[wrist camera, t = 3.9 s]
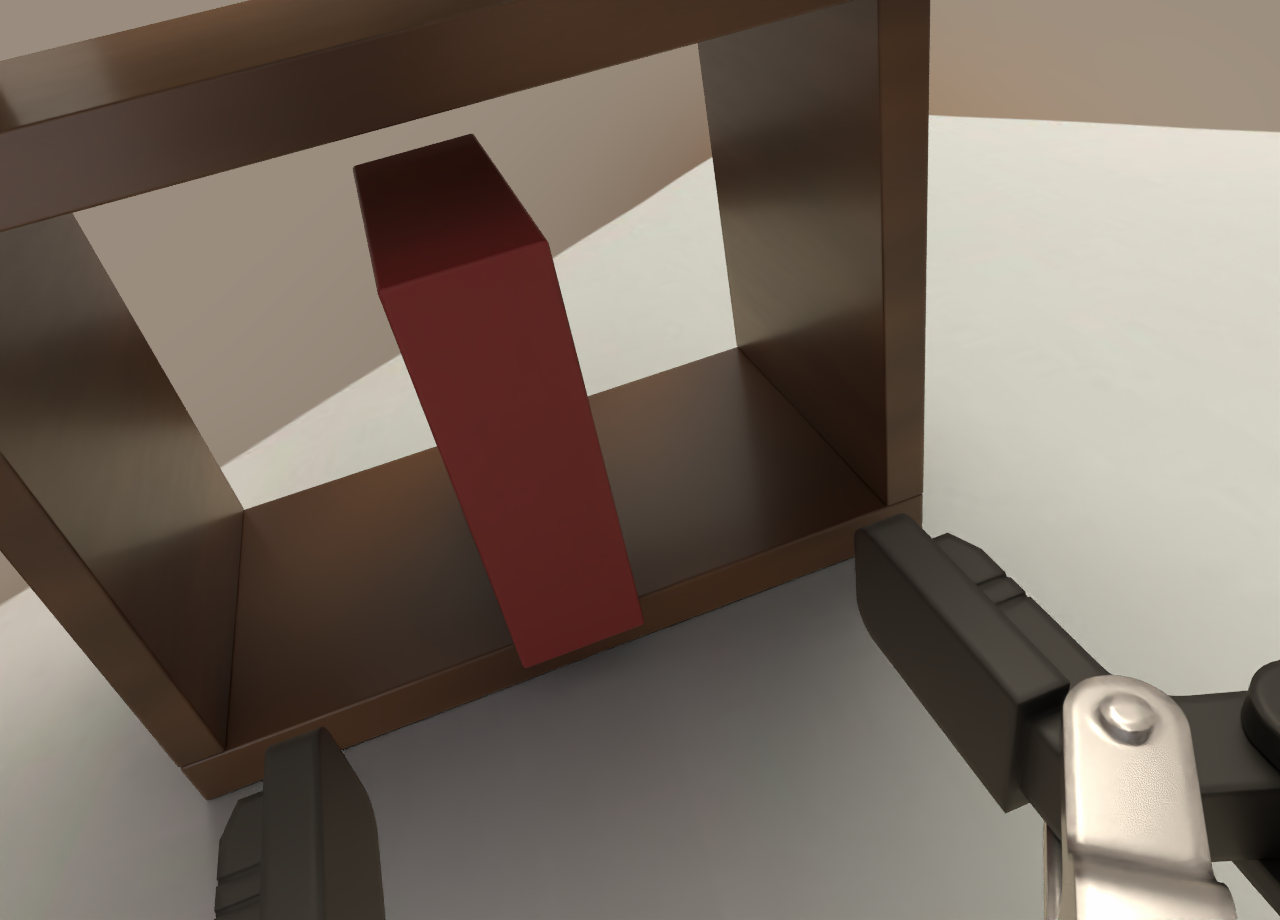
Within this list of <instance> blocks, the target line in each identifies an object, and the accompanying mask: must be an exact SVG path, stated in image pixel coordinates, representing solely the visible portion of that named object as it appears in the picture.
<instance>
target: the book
mask: <svg viewBox="0 0 1280 920" xmlns="http://www.w3.org/2000/svg"><path fill="white" fill-rule="evenodd" d="M353 173H354V178H355V183H356V187H357V193H358V198H359V203H360V208H361V212H362V218H363V222H364V227H365V232H366V237H367V242H368V247H369V252H370V257H371V262H372V267H373V272H374V277H375V282H376V287H377V292H378V295H379V298H380V300H381V303H382V305H383V308H384V311H385V313H386V316H387V318H388V321H389V323H390V326H391V329H392V331H393V334H394V336H395V339H396V341H397V344H398V346H399V349H400V352H401V354H402V357H403V359H404V362H405V365H406V367H407V370H408V372H409V375H410V377H411V380H412V383H413V385H414V388H415V390H416V393H417V395H418V398H419V401H420V403H421V406H422V408H423V411H424V413H425V416H426V419H427V421H428V424H429V426H430V429H431V431H432V434H433V437H434V439H435V442H436V444H437V447H438V449H439V452H440V455H441V457H442V460H443V462H444V465H445V467H446V470H447V473H448V475H449V478H450V480H451V483H452V485H453V488H454V491H455V493H456V496H457V498H458V501H459V503H460V506H461V508H462V511H463V514H464V516H465V519H466V521H467V524H468V526H469V529H470V532H471V534H472V537H473V539H474V542H475V544H476V547H477V550H478V552H479V555H480V557H481V560H482V562H483V565H484V568H485V570H486V573H487V575H488V578H489V580H490V583H491V586H492V588H493V591H494V593H495V596H496V598H497V601H498V604H499V606H500V609H501V611H502V614H503V616H504V619H505V622H506V624H507V627H508V629H509V632H510V634H511V637H512V640H513V642H514V645H515V647H516V650H517V652H518V655H519V658H520V660H521V663H522V665H523V666H524V667H525V668H529V667H531V666H534V665H537V664H539V663H542V662H545V661H547V660H550V659H553V658H555V657H558V656H561V655H563V654H566V653H569V652H571V651H574V650H577V649H579V648H582V647H585V646H587V645H590V644H593V643H595V642H598V641H601V640H603V639H606V638H609V637H611V636H614V635H617V634H619V633H622V632H625V631H627V630H630V629H633V628H635V627H638V626H641V625H643V624H644V617H643V613H642V609H641V605H640V601H639V597H638V593H637V589H636V586H635V582H634V578H633V574H632V570H631V566H630V562H629V558H628V554H627V550H626V546H625V542H624V538H623V534H622V530H621V527H620V523H619V519H618V515H617V511H616V507H615V503H614V499H613V495H612V491H611V487H610V483H609V479H608V475H607V471H606V467H605V464H604V460H603V456H602V452H601V448H600V444H599V440H598V436H597V432H596V428H595V424H594V420H593V416H592V412H591V408H590V404H589V401H588V397H587V393H586V389H585V385H584V381H583V377H582V373H581V369H580V365H579V361H578V357H577V353H576V349H575V345H574V342H573V338H572V334H571V330H570V326H569V322H568V318H567V314H566V310H565V306H564V302H563V298H562V294H561V290H560V286H559V282H558V279H557V275H556V271H555V267H554V263H553V259H552V255H551V251H550V247H549V243H548V242H547V240H546V238H545V237H544V236H543V234H542V233H541V231H540V230H539V228H538V227H537V225H536V224H535V222H534V221H533V220H532V218H531V217H530V215H529V214H528V212H527V211H526V209H525V208H524V207H523V205H522V204H521V202H520V201H519V199H518V198H517V196H516V195H515V194H514V192H513V191H512V189H511V188H510V186H509V185H508V184H507V182H506V181H505V179H504V178H503V176H502V175H501V173H500V172H499V170H498V169H497V168H496V166H495V165H494V163H493V162H492V160H491V159H490V157H489V156H488V155H487V153H486V152H485V150H484V149H483V147H482V146H481V144H480V143H479V142H478V140H477V139H476V137H475V136H474V135H473V134H468V135H465V136H461V137H457V138H454V139H450V140H447V141H443V142H440V143H436V144H432V145H429V146H425V147H421V148H418V149H414V150H411V151H407V152H403V153H400V154H396V155H392V156H389V157H385V158H382V159H378V160H374V161H371V162H367V163H364V164H360V165H356V166H354V168H353Z"/></svg>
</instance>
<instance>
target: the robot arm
mask: <svg viewBox="0 0 1280 920" xmlns="http://www.w3.org/2000/svg"><path fill="white" fill-rule="evenodd" d="M854 553H855V574H856V596H857V604H858V608H859V612H860V615H861V618H862V620H863V622H864V625H865V627H866V629H867V631H868V632H869V634H870V636H871V637H872V639H873V640H874V641H875V643H876V644H877V645H878V647H879V648H880V649H881V651H882V652H883V653H884V655H885V656H886V657H887V658H888V660H889V661H890V662H891V664H892V665H893V666H894V668H895V669H896V670H897V672H898V673H899V674H900V676H901V677H902V678H903V680H904V681H905V682H906V683H907V685H908V686H909V687H910V689H911V690H912V691H913V693H914V694H915V695H916V697H917V698H918V699H919V701H920V702H921V703H922V705H923V706H924V707H925V708H926V710H927V711H928V712H929V714H930V715H931V716H932V718H933V719H934V720H935V722H936V723H937V724H938V726H939V727H940V728H941V729H942V731H943V732H944V733H945V735H946V736H947V737H948V739H949V740H950V741H951V743H952V744H953V745H954V747H955V748H956V749H957V751H958V752H959V753H960V754H961V756H962V757H963V758H964V760H965V761H966V762H967V764H968V765H969V766H970V768H971V769H972V770H973V772H974V773H975V774H976V776H977V777H978V778H979V779H980V781H981V782H982V783H983V785H984V786H985V787H986V789H987V790H988V791H989V793H990V794H991V795H992V797H993V798H994V799H995V801H996V802H997V803H998V804H999V806H1000V807H1001V808H1002V810H1003V811H1004V812H1005V813H1007V812H1010V811H1012V810H1014V809H1016V808H1019V807H1021V806H1023V805H1026V804H1028V803H1031V804H1032V806H1033V807H1034V808H1035V809H1036V811H1037V812H1038V813H1039V814H1040V816H1041V817H1042V818H1043V819H1044V827H1043V864H1044V920H1237V915H1236V910H1235V905H1234V902H1233V898H1232V895H1231V893H1230V891H1229V889H1228V887H1227V886H1226V885H1225V884H1224V883H1220V882H1217V881H1216V879H1215V876H1214V873H1213V869H1212V864H1211V862H1220V861H1232V862H1233V863H1234V864H1235V865H1236V866H1237V868H1238V869H1239V870H1240V871H1241V872H1242V873H1243V874H1244V876H1245V877H1246V878H1247V879H1248V880H1249V881H1250V883H1251V884H1252V885H1253V886H1254V887H1255V888H1256V889H1257V891H1258V892H1259V893H1260V894H1261V895H1262V896H1263V897H1264V899H1265V900H1266V901H1267V902H1268V903H1269V904H1270V905H1271V907H1272V908H1273V909H1274V910H1275V911H1276V912H1277V913H1278V915H1279V916H1280V660H1278V661H1274V662H1271V663H1269V664H1267V665H1265V666H1263V667H1262V668H1260V669H1259V670H1258V671H1257V672H1256V673H1255V674H1254V676H1253V678H1252V680H1251V683H1250V686H1249V689H1248V691H1239V692H1227V693H1215V694H1204V695H1192V696H1169V695H1166V694H1165V693H1164V692H1162V691H1161V690H1159V689H1157V688H1156V687H1154V686H1152V685H1150V684H1148V683H1145V682H1143V681H1140V680H1137V679H1134V678H1130V677H1125V676H1116V675H1112V674H1110V673H1109V672H1108V671H1106V670H1105V669H1104V668H1103V667H1102V666H1101V665H1100V664H1099V663H1098V662H1097V661H1096V660H1095V659H1093V658H1092V657H1091V656H1090V655H1089V654H1088V653H1087V652H1086V651H1085V650H1084V649H1083V648H1082V647H1081V646H1080V645H1079V644H1078V643H1077V642H1076V641H1075V640H1074V639H1073V638H1072V637H1071V636H1070V635H1069V634H1068V633H1067V632H1066V631H1065V630H1064V629H1063V628H1062V627H1061V626H1060V625H1059V624H1058V623H1057V622H1056V621H1055V620H1054V619H1053V618H1052V617H1051V616H1049V615H1048V614H1047V613H1046V612H1045V611H1044V610H1043V609H1042V608H1041V607H1040V606H1039V605H1038V604H1037V603H1036V602H1035V601H1034V600H1033V599H1032V598H1031V597H1027V596H1026V594H1025V591H1024V590H1023V589H1022V588H1021V587H1020V586H1019V585H1018V584H1017V583H1016V582H1015V581H1014V580H1013V579H1012V578H1011V577H1010V578H1008V577H1007V576H1006V573H1005V572H1004V571H1003V570H1002V569H1001V568H1000V567H999V566H998V565H997V564H996V563H995V562H994V561H993V560H992V559H991V558H990V557H989V556H988V555H987V554H986V553H985V552H984V551H983V550H982V549H980V548H978V547H976V546H974V545H972V544H970V543H968V542H966V541H964V540H962V539H960V538H958V537H956V536H954V535H951V534H949V533H946V534H943V535H941V536H938V537H936V538H933V539H932V538H931V537H930V536H929V535H928V534H927V533H926V532H925V531H924V530H923V529H922V528H921V527H920V526H919V525H918V524H917V523H916V522H915V521H914V520H913V519H912V518H911V517H910V516H909V515H907V514H905V513H899V514H897V515H894V516H891V517H888V518H886V519H883V520H880V521H878V522H875V523H872V524H870V525H867V526H864V527H862V528H859V529H857V530H856V531H855V534H854ZM217 880H218V886H217V887H216V897H215V910H214V911H215V913H216V919H214V920H386V919H385V908H384V897H383V885H382V874H381V863H380V852H379V841H378V831H377V824H376V819H375V815H374V811H373V808H372V805H371V802H370V799H369V797H368V794H367V792H366V790H365V788H364V786H363V785H362V783H361V781H360V780H359V778H358V777H357V775H356V773H355V772H354V770H353V769H352V767H351V765H350V764H349V762H348V761H347V759H346V757H345V756H344V754H343V753H342V751H341V749H340V748H339V746H338V745H337V743H336V741H335V740H334V738H333V737H332V735H331V733H330V732H329V731H328V730H327V728H325V727H323V726H322V727H319V728H317V729H314V730H311V731H309V732H306V733H303V734H300V735H298V736H295V737H292V738H290V739H287V740H284V741H282V742H279V743H276V744H274V745H271V746H269V747H268V748H267V749H266V752H265V758H264V786H263V791H261V792H258V793H256V794H253V795H250V796H248V797H245V798H243V799H240V800H238V801H237V804H236V806H235V808H234V810H233V812H232V815H231V817H230V819H229V821H228V823H227V825H226V828H225V830H224V832H223V834H222V836H221V839H220V843H219V857H218V870H217Z"/></svg>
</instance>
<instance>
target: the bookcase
mask: <svg viewBox="0 0 1280 920" xmlns="http://www.w3.org/2000/svg"><path fill="white" fill-rule="evenodd" d="M695 43H698V49H699V57H700V64H701V72H702V80H703V87H704V95H705V103H706V110H707V118H708V126H709V134H710V141H711V149H712V157H713V164H714V172H715V180H716V188H717V195H718V203H719V211H720V218H721V226H722V234H723V242H724V249H725V257H726V265H727V272H728V280H729V288H730V296H731V303H732V311H733V319H734V326H735V334H736V342H737V346H738V347H736V348H733V349H730V350H727V351H724V352H721V353H718V354H715V355H712V356H709V357H706V358H703V359H700V360H697V361H694V362H691V363H688V364H685V365H682V366H679V367H676V368H673V369H670V370H667V371H664V372H661V373H658V374H655V375H652V376H649V377H646V378H643V379H640V380H637V381H633V382H630V383H627V384H624V385H621V386H618V387H615V388H612V389H609V390H606V391H603V392H600V393H597V394H594V395H591V396H588V401H589V404H590V408H591V412H592V416H593V420H594V424H595V428H596V432H597V436H598V440H599V444H600V448H601V452H602V456H603V460H604V464H605V467H606V471H607V475H608V479H609V483H610V487H611V491H612V495H613V499H614V503H615V507H616V511H617V515H618V519H619V523H620V527H621V530H622V534H623V538H624V542H625V546H626V550H627V554H628V558H629V562H630V566H631V570H632V574H633V578H634V582H635V586H636V589H637V593H638V597H639V601H640V605H641V609H642V613H643V617H644V624H643V625H641V626H638V627H635V628H633V629H630V630H627V631H625V632H622V633H619V634H617V635H614V636H611V637H609V638H606V639H603V640H601V641H598V642H595V643H593V644H590V645H587V646H585V647H582V648H579V649H577V650H574V651H571V652H569V653H566V654H563V655H561V656H558V657H555V658H553V659H550V660H547V661H545V662H542V663H539V664H537V665H534V666H531V667H529V668H525V667H524V666H523V665H522V663H521V660H520V658H519V655H518V652H517V650H516V647H515V645H514V642H513V640H512V637H511V634H510V632H509V629H508V627H507V624H506V622H505V619H504V616H503V614H502V611H501V609H500V606H499V604H498V601H497V598H496V596H495V593H494V591H493V588H492V586H491V583H490V580H489V578H488V575H487V573H486V570H485V568H484V565H483V562H482V560H481V557H480V555H479V552H478V550H477V547H476V544H475V542H474V539H473V537H472V534H471V532H470V529H469V526H468V524H467V521H466V519H465V516H464V514H463V511H462V508H461V506H460V503H459V501H458V498H457V496H456V493H455V491H454V488H453V485H452V483H451V480H450V478H449V475H448V473H447V470H446V467H445V465H444V462H443V460H442V457H441V455H440V452H439V449H438V447H434V448H431V449H428V450H425V451H422V452H418V453H415V454H412V455H409V456H406V457H403V458H400V459H397V460H394V461H391V462H388V463H385V464H382V465H379V466H376V467H373V468H370V469H367V470H364V471H361V472H358V473H355V474H352V475H349V476H346V477H343V478H340V479H337V480H334V481H331V482H328V483H325V484H322V485H319V486H316V487H312V488H309V489H306V490H303V491H300V492H297V493H294V494H291V495H288V496H285V497H282V498H279V499H276V500H273V501H270V502H267V503H264V504H261V505H258V506H255V507H252V508H249V509H246V510H243V507H242V505H241V503H240V502H239V500H238V498H237V496H236V495H235V493H234V491H233V489H232V488H231V486H230V484H229V483H228V481H227V479H226V477H225V476H224V474H223V472H222V471H221V469H220V467H219V465H218V464H217V462H216V460H215V458H214V457H213V455H212V453H211V452H210V450H209V448H208V446H207V445H206V443H205V441H204V439H203V438H202V436H201V434H200V433H199V431H198V429H197V427H196V426H195V424H194V422H193V420H192V419H191V417H190V416H189V414H188V412H187V411H186V408H185V407H184V405H183V403H182V402H181V400H180V398H179V396H178V395H177V393H176V391H175V389H174V388H173V386H172V384H171V383H170V381H169V379H168V377H167V376H166V374H165V372H164V370H163V369H162V368H161V365H160V364H159V362H158V360H157V358H156V357H155V355H154V353H153V352H152V350H151V348H150V346H149V345H148V343H147V341H146V340H145V338H144V336H143V334H142V333H141V331H140V329H139V327H138V326H137V324H136V322H135V321H134V319H133V317H132V315H131V314H130V312H129V310H128V309H127V307H126V305H125V303H124V302H123V300H122V298H121V296H120V295H119V293H118V291H117V289H116V288H115V286H114V284H113V283H112V281H111V279H110V277H109V276H108V274H107V272H106V271H105V269H104V267H103V265H102V264H101V262H100V260H99V258H98V257H97V255H96V253H95V252H94V250H93V248H92V246H91V245H90V243H89V241H88V239H87V238H86V236H85V234H84V232H83V231H82V229H81V227H80V226H79V224H78V222H77V220H76V219H75V217H74V215H73V214H72V213H73V212H77V211H80V210H84V209H88V208H92V207H95V206H98V205H103V204H106V203H110V202H114V201H117V200H121V199H125V198H128V197H132V196H136V195H139V194H143V193H146V192H151V191H154V190H158V189H162V188H165V187H169V186H173V185H176V184H180V183H183V182H187V181H191V180H195V179H198V178H202V177H206V176H209V175H213V174H217V173H220V172H224V171H228V170H231V169H235V168H239V167H242V166H246V165H250V164H254V163H257V162H261V161H265V160H268V159H272V158H276V157H279V156H283V155H287V154H290V153H294V152H298V151H301V150H305V149H309V148H313V147H316V146H320V145H323V144H327V143H331V142H335V141H338V140H342V139H346V138H349V137H353V136H357V135H360V134H364V133H368V132H371V131H375V130H379V129H382V128H386V127H390V126H393V125H397V124H401V123H405V122H408V121H412V120H416V119H419V118H423V117H427V116H430V115H434V114H438V113H441V112H445V111H449V110H452V109H456V108H460V107H463V106H467V105H471V104H474V103H478V102H482V101H485V100H489V99H493V98H496V97H500V96H504V95H507V94H511V93H515V92H518V91H522V90H526V89H530V88H533V87H537V86H540V85H544V84H548V83H552V82H555V81H559V80H563V79H567V78H570V77H574V76H578V75H581V74H585V73H589V72H592V71H596V70H599V69H603V68H607V67H610V66H614V65H618V64H622V63H625V62H629V61H633V60H637V59H640V58H644V57H648V56H651V55H654V54H659V53H662V52H666V51H670V50H673V49H677V48H681V47H684V46H688V45H692V44H695ZM929 44H930V0H249V1H245V2H241V3H237V4H233V5H229V6H225V7H221V8H217V9H212V10H209V11H204V12H200V13H196V14H192V15H188V16H184V17H180V18H175V19H171V20H168V21H163V22H159V23H155V24H151V25H147V26H143V27H139V28H135V29H130V30H126V31H122V32H118V33H114V34H110V35H106V36H102V37H97V38H94V39H89V40H85V41H81V42H77V43H73V44H69V45H65V46H61V47H57V48H52V49H48V50H45V51H41V52H36V53H32V54H28V55H24V56H19V57H15V58H12V59H7V60H3V61H0V551H1V552H2V553H3V554H4V556H5V557H6V558H7V559H8V560H9V562H10V563H11V564H12V565H13V567H14V568H15V569H16V570H17V571H18V573H19V574H20V575H21V576H22V577H23V579H24V580H25V581H26V582H27V584H28V585H29V586H30V587H31V589H32V590H33V591H34V592H35V593H36V595H37V596H38V597H39V598H40V599H41V601H42V602H43V603H44V604H45V606H46V607H47V608H48V609H49V610H50V612H51V613H52V614H53V615H54V616H55V618H56V619H57V620H58V621H59V623H60V624H61V625H62V626H63V627H64V629H65V630H66V631H67V632H68V633H69V635H70V636H71V637H72V638H73V640H74V641H75V642H76V643H77V644H78V646H79V647H80V648H81V649H82V650H83V652H84V653H85V654H86V655H87V657H88V658H89V659H90V660H91V661H92V663H93V664H94V665H95V666H96V668H97V669H98V670H99V671H100V672H101V674H102V675H103V676H104V677H105V678H106V680H107V681H108V682H109V683H110V685H111V686H112V687H113V688H114V689H115V691H116V692H117V693H118V694H119V695H120V697H121V698H122V699H123V700H124V702H125V703H126V704H127V705H128V706H129V708H130V709H131V710H132V711H133V712H134V714H135V715H136V716H137V717H138V719H139V720H140V721H141V722H142V723H143V725H144V726H145V727H146V728H147V729H148V731H149V732H150V733H151V734H152V736H153V737H154V738H155V739H156V740H157V742H158V743H159V744H160V745H161V747H162V748H163V749H164V750H165V751H166V753H167V754H168V755H169V756H170V757H171V759H172V760H173V761H174V762H175V764H176V765H177V766H178V767H181V770H182V771H183V773H184V774H185V775H186V776H187V778H188V779H189V780H190V781H191V782H192V784H193V785H194V786H195V787H196V788H197V790H198V791H199V792H200V793H201V795H202V796H203V797H204V798H205V799H206V800H210V799H213V798H215V797H218V796H221V795H223V794H226V793H229V792H231V791H234V790H237V789H239V788H242V787H245V786H247V785H250V784H252V783H255V782H258V781H260V780H263V779H264V758H265V752H266V749H267V748H268V747H269V746H271V745H274V744H276V743H279V742H282V741H284V740H287V739H290V738H292V737H295V736H298V735H300V734H303V733H306V732H309V731H311V730H314V729H317V728H319V727H322V726H323V727H325V728H327V730H328V731H329V732H330V733H331V735H332V737H333V738H334V740H335V741H336V743H337V745H338V746H339V748H340V749H341V750H343V749H345V748H348V747H351V746H353V745H356V744H358V743H361V742H364V741H366V740H369V739H372V738H374V737H377V736H380V735H382V734H385V733H388V732H390V731H393V730H396V729H398V728H401V727H404V726H406V725H409V724H411V723H414V722H417V721H419V720H422V719H425V718H427V717H430V716H433V715H435V714H438V713H441V712H443V711H446V710H449V709H451V708H454V707H457V706H459V705H462V704H464V703H467V702H470V701H472V700H475V699H478V698H480V697H483V696H486V695H488V694H491V693H494V692H496V691H499V690H502V689H504V688H507V687H510V686H512V685H515V684H517V683H520V682H523V681H525V680H528V679H531V678H533V677H536V676H539V675H541V674H544V673H547V672H549V671H552V670H555V669H557V668H560V667H563V666H565V665H568V664H570V663H573V662H576V661H578V660H581V659H584V658H586V657H589V656H592V655H594V654H597V653H600V652H602V651H605V650H608V649H610V648H613V647H616V646H618V645H621V644H623V643H626V642H629V641H631V640H634V639H637V638H639V637H642V636H645V635H647V634H650V633H653V632H655V631H658V630H661V629H663V628H666V627H669V626H671V625H674V624H676V623H679V622H682V621H684V620H687V619H690V618H692V617H695V616H698V615H700V614H703V613H706V612H708V611H711V610H714V609H716V608H719V607H722V606H724V605H727V604H729V603H732V602H735V601H737V600H740V599H743V598H745V597H748V596H751V595H753V594H756V593H759V592H761V591H764V590H767V589H769V588H772V587H775V586H777V585H780V584H782V583H785V582H788V581H790V580H793V579H796V578H798V577H801V576H804V575H806V574H809V573H812V572H814V571H817V570H820V569H822V568H825V567H828V566H830V565H833V564H835V563H838V562H841V561H843V560H846V559H849V558H851V557H854V556H855V553H854V534H855V531H856V530H857V529H859V528H862V527H864V526H867V525H870V524H872V523H875V522H878V521H880V520H883V519H886V518H888V517H891V516H894V515H897V514H899V513H905V514H907V515H909V516H910V517H911V518H912V519H913V520H914V521H915V522H916V523H917V524H918V525H919V526H920V527H921V528H922V500H923V496H922V493H923V464H924V395H925V326H926V256H927V187H928V118H929V46H930V45H929Z"/></svg>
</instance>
